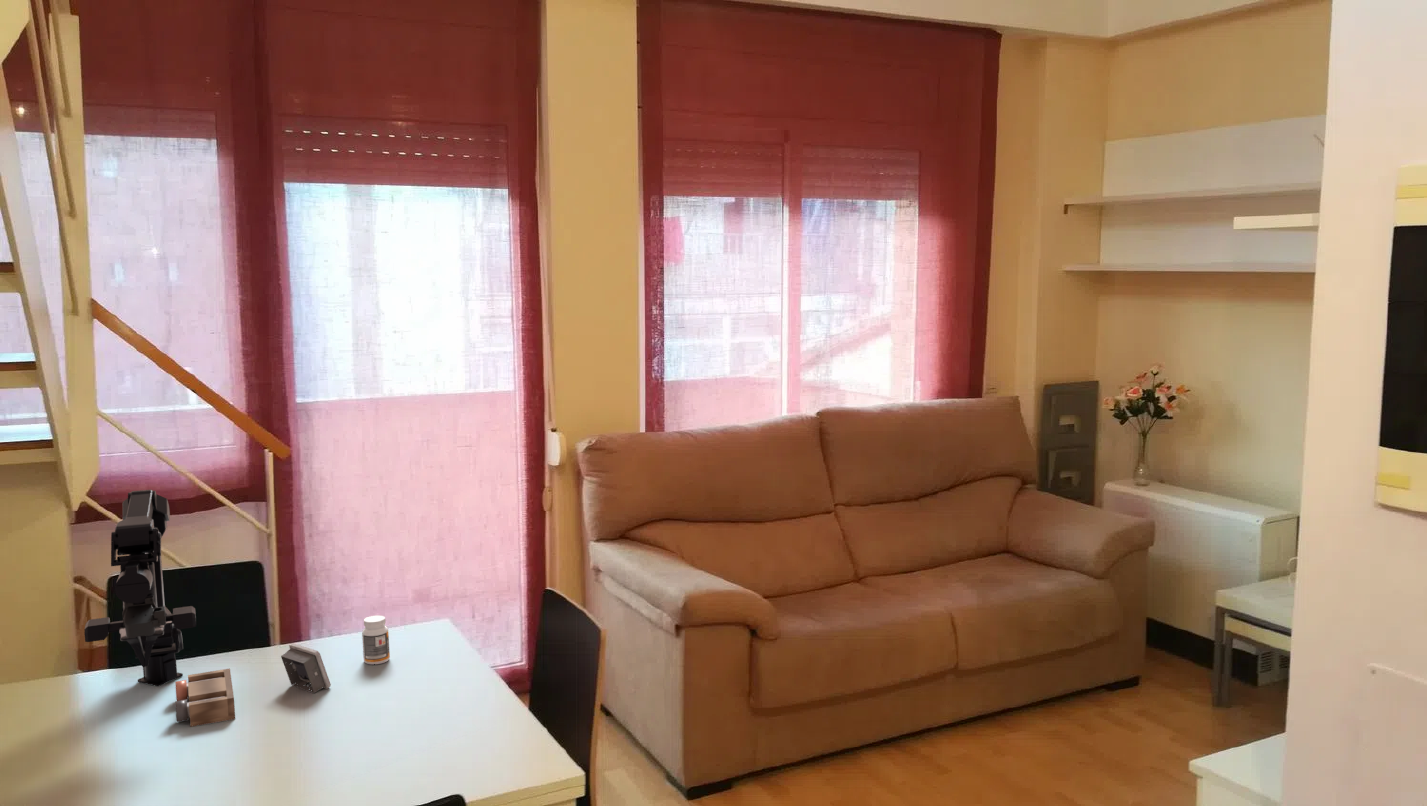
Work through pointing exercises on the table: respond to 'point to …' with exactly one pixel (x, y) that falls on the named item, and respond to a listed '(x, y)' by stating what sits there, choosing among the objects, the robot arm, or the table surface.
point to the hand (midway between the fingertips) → (145, 666)
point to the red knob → (183, 689)
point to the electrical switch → (305, 668)
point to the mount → (209, 689)
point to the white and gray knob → (184, 709)
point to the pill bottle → (375, 640)
